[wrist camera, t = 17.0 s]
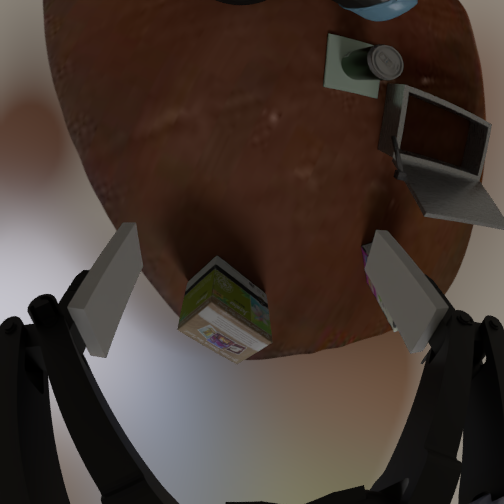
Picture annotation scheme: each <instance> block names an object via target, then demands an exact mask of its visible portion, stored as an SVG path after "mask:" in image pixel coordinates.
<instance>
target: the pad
mask: <svg viewBox="0 0 504 504" xmlns="http://www.w3.org/2000/svg"><path fill="white" fill-rule="evenodd" d="M370 46H374V45H371V44H367V43H364V42H361V41H357V40H353V39H350V38H346V37H342V36H338V35H333V34H328V41H327V53H326V63H325V74H324V83H323V87H328V88H333V89H338V90H343V91H348V92H352V93H357V94H361V95H365V96H369V97H373V98H378V90H379V82H380V80H354V79H351V78H350V77H348V76H347V75H346V74H345V73H344V71H343V69H342V65H341V62H342V58H343V56H344V55H345V54H346V53H348V52H351V51H354V50H358V49H362V48H366V47H370Z"/></svg>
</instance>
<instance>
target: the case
mask: <svg viewBox="0 0 504 504" xmlns="http://www.w3.org/2000/svg"><path fill="white" fill-rule="evenodd" d="M408 95H409V96H412V97H414V98H417V99H420V100H423V101H425V102H428V103H430V104H433V105H435V106H438V107H440V108H443V109H445V110H447V111H449V112H452V113H454V114H456V115H458V116H460V117H463V118H465V119H467V120H469V121H470V126H469V132H468V137H467V142H466V147H465V152H464V156H463V160H462V164H461V167H460V166H457V165H454V164H451V163H448V162H445V161H441V160H438V159H435V158H431V157H428V156H424V155H421V154H417V153H413V152H409V151H405V150H401V149H400V144H401V139H402V134H403V128H404V122H405V116H406V110H407V103H408ZM491 126H492V124H490V123H488V122H487V121H485V120H483V119H481V118H479V117H478V116H476V115H474V114H472V113H470V112H468V111H466V110H464V109H462V108H460V107H458V106H456V105H454V104H451V103H449V102H447V101H445V100H443V99H440V98H438V97H436V96H433V95H431V94H428V93H426V92H424V91H421V90H418V89H416V88H413V87H410V86H408V85H405V84H389V83H388V84H387V93H386V100H385V107H384V114H383V121H382V127H381V133H380V139H379V144H378V150H380V151H382V152H383V153H385V154H387V155H389V156H391V157H393V159H392V162H393V163H394V165H395V167H396V168H397V170H395V174H394V177H395V178H396V179H398V180H403V181H405V183H406V185H407V187H408V188H409V190H410V192H411V193H412V195H413V197H414V199H415V201H416V202H417V204H418V206H419V208H420V210H421V212H422V214H423V216H424V217H431V218H438V219H445V220H451V221H457V222H463V223H469V224H476V225H481V226H486V227H491V228H497V229H502V230H504V217H503V216H502V214H501V212H500V211H499V209H498V208H497V206H496V204H495V203H494V201H493V200H492V198H491V197H490V195H489V194H488V193H487V191H486V190H485V189H484V187H483V185H482V184H481V183H480V181H479V180H480V176H481V173H482V169H483V165H484V161H485V156H486V152H487V146H488V142H489V137H490V131H491Z"/></svg>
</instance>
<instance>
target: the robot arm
mask: <svg viewBox="0 0 504 504" xmlns="http://www.w3.org/2000/svg"><path fill="white" fill-rule="evenodd" d="M217 1H219V2H222V3H226V4H232V5H249V4H255V3H259V2H263V1H265V0H217ZM333 1H334V2H336V3H338V4H339V5H340V6H341V7H342V8H344V9H347V10H350V11H352V12H354V13H356V14H358V15H360V16H361V17H363V18H365V19H368V20H372V21H385V20H389V19H392V18H395V17H397V16H399V15H401V14H403V13H405V12H407V11H408V10H410V9H411V8H412V7H414V6H415V5H416V4H417V0H333ZM142 267H143V263H142V258H141V252H140V246H139V240H138V233H137V227H136V223H122V225H121V226H120V227H119V229H118V230H117V232H116V233H115V235H114V236H113V237H112V239H111V240H110V241H109V243H108V244H107V246H106V247H105V248H104V250H103V251H102V253H101V254H100V256H99V257H98V259H97V260H96V262H95V263H94V265H93V266H92V268H91V269H90V270H83V271H82V272H81V273H79V274H78V275H77V276H76V277H75V279H74V280H73V282H72V283H71V285H70V286H69V288H68V289H67V291H66V292H65V294H64V296H63V297H62V299H61V300H60V302H59V304H58V303H57V300H56V298H55V297H54V296H53V295H51V294H44V295H40V296H38V297H37V298H35V299H34V300H33V301H32V302H31V303H30V304H29V306H28V313H29V315H30V317H31V319H32V321H33V323H34V324H29V325H24V324H23V322H22V320H21V319H20V318H19V317H16V316H13V317H10V318H7V319H6V320H5V321H4V322H3V323H2V324H1V325H0V504H70V501H69V499H68V495H67V492H66V488H65V484H64V481H63V477H62V473H61V469H60V464H59V460H58V455H57V450H56V444H55V439H54V433H53V426H52V418H51V410H50V399H49V385H48V377H49V380H50V383H51V386H52V389H53V392H54V395H55V398H56V401H57V403H58V406H59V409H60V411H61V414H62V416H63V419H64V421H65V424H66V426H67V428H68V431H69V433H70V435H71V438H72V440H73V442H74V444H75V446H76V448H77V450H78V452H79V454H80V456H81V458H82V460H83V462H84V464H85V466H86V468H87V470H88V471H89V473H90V475H91V477H92V478H93V480H94V482H95V484H96V485H97V487H98V489H99V490H100V492H101V495H102V497H101V502H102V504H179V503H178V502H177V501H176V500H175V499H174V498H173V497H172V496H171V495H170V494H169V493H168V492H167V491H166V489H165V488H164V487H163V486H162V485H161V483H160V482H159V481H158V480H157V478H156V477H155V476H154V474H153V473H152V472H151V470H150V469H149V468H148V466H147V465H146V464H145V462H144V461H143V460H142V458H141V457H140V455H139V454H138V452H137V451H136V449H135V448H134V446H133V445H132V443H131V442H130V440H129V439H128V437H127V436H126V434H125V432H124V431H123V429H122V427H121V426H120V424H119V422H118V421H117V419H116V417H115V416H114V414H113V412H112V410H111V409H110V407H109V405H108V403H107V401H106V399H105V398H104V396H103V394H102V392H101V390H100V388H99V386H98V384H97V382H96V380H95V378H94V376H93V374H92V372H91V369H90V367H89V365H88V363H87V361H86V358H85V357H84V355H83V352H84V350H85V348H87V349H88V351H89V353H90V355H91V356H97V357H104V358H106V357H107V354H108V351H109V348H110V346H111V343H112V340H113V337H114V335H115V332H116V330H117V327H118V324H119V321H120V319H121V316H122V314H123V312H124V309H125V307H126V304H127V302H128V299H129V297H130V295H131V292H132V290H133V288H134V285H135V283H136V281H137V278H138V276H139V274H140V272H141V269H142ZM364 270H365V272H366V274H367V275H368V277H369V279H370V280H371V282H372V284H373V285H374V287H375V289H376V291H377V292H378V294H379V296H380V298H381V299H382V301H383V303H384V305H385V306H386V308H387V310H388V312H389V314H390V316H391V317H392V319H393V321H394V323H395V325H396V327H397V329H398V331H399V332H400V334H401V336H402V338H403V340H404V342H405V344H406V346H407V348H408V350H409V352H410V353H416V352H421V351H423V349H424V348H425V347H426V345H427V343H428V342H429V344H430V346H431V349H430V350H429V352H428V353H427V355H426V356H425V357H424V359H423V360H422V362H421V364H423V363H424V362H425V361H426V363H425V366H424V370H423V373H422V377H421V380H420V384H419V387H418V390H417V393H416V396H415V399H414V402H413V405H412V408H411V411H410V414H409V416H408V419H407V422H406V425H405V427H404V429H403V432H402V434H401V437H400V439H399V442H398V444H397V446H396V448H395V451H394V453H393V455H392V457H391V460H390V462H389V463H388V465H387V468H386V470H385V471H384V473H383V474H382V475H381V476H380V477H379V479H378V480H377V481H376V482H375V483H374V485H373V486H372V488H371V489H370V490H365V489H364V485H363V486H359V487H355V488H351V489H346V490H342V491H338V492H333V493H331V494H328V495H326V496H324V497H321V498H319V499H316V500H314V501H311V502H309V503H306V504H450V503H451V500H452V498H453V495H454V492H455V489H456V486H457V483H458V480H459V477H460V474H461V478H460V487H459V503H458V504H504V329H503V326H502V324H501V323H500V322H499V320H498V319H496V318H495V317H493V316H489V315H488V316H486V317H485V318H484V320H483V321H482V323H477V322H474V321H473V319H472V318H471V317H470V316H469V314H467V313H466V312H463V311H461V310H455V309H454V308H453V306H452V305H451V303H450V302H449V301H448V299H447V298H446V297H445V295H444V294H442V291H441V290H440V289H439V288H438V286H437V285H436V284H435V282H434V281H433V280H432V279H431V278H429V277H428V276H427V275H424V274H423V272H422V271H421V270H420V269H419V267H418V266H417V265H416V264H415V262H414V261H413V260H412V259H411V258H410V256H409V255H408V254H407V253H406V252H405V250H404V249H403V248H402V247H401V246H400V245H399V243H398V242H397V241H396V240H395V239H394V238H393V237H392V235H391V234H390V233H389V232H388V231H387V230H376V232H375V236H374V239H373V243H372V246H371V249H370V253H369V256H368V259H367V263H366V266H365V269H364ZM485 356H486V362H485V363H484V364H483V362H482V359H483V358H484V357H485ZM462 432H463V455H462V463H461V462H460V461H458V460H457V458H456V457H457V452H458V448H459V444H460V440H461V436H462ZM226 504H276V503H268V502H262V501H260V502H226Z"/></svg>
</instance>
